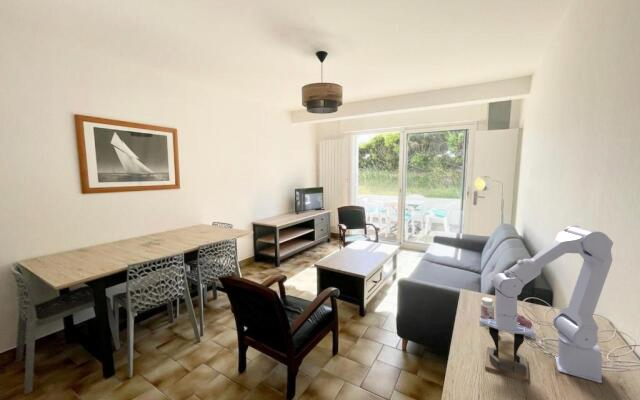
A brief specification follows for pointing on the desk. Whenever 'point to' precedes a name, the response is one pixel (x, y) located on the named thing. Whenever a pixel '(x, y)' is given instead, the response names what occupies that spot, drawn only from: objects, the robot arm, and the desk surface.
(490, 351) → the ring holder
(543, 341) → the desk surface
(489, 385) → the desk surface
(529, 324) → the video game controller
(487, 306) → the pill bottle
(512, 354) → the maple plug
